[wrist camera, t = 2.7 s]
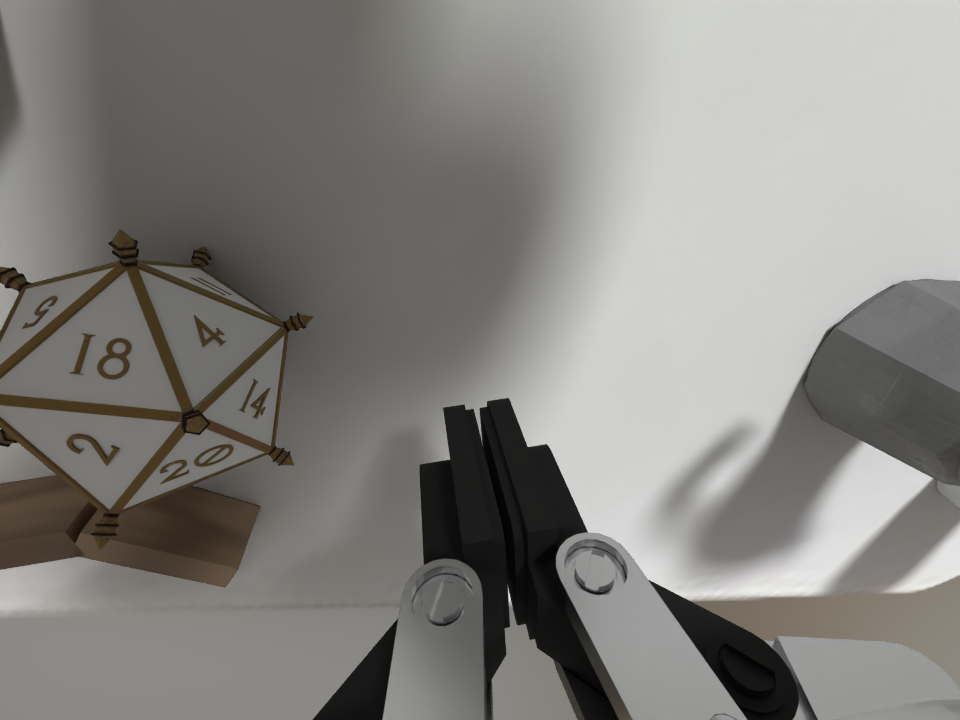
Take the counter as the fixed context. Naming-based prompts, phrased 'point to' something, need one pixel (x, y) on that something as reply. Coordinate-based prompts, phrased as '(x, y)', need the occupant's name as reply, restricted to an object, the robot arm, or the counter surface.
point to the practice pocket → (126, 530)
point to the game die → (140, 378)
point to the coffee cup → (950, 492)
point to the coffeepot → (897, 375)
